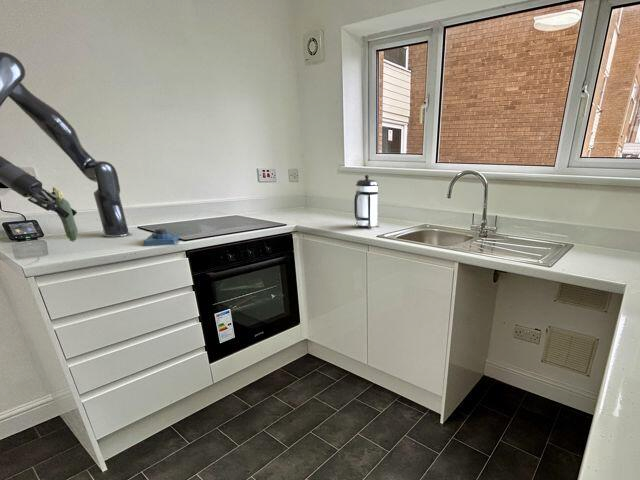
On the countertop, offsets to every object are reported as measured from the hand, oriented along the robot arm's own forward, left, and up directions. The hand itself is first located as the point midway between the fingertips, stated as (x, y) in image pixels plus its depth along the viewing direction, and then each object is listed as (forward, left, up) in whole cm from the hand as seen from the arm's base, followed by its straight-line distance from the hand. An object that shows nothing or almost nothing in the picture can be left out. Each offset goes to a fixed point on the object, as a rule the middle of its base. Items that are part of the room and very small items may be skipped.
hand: (71, 215), depth 131 cm
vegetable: (0, -2, -10) cm, 10 cm away
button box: (-15, +24, -15) cm, 32 cm away
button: (-15, +24, -11) cm, 31 cm away
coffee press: (-32, +126, -15) cm, 131 cm away
